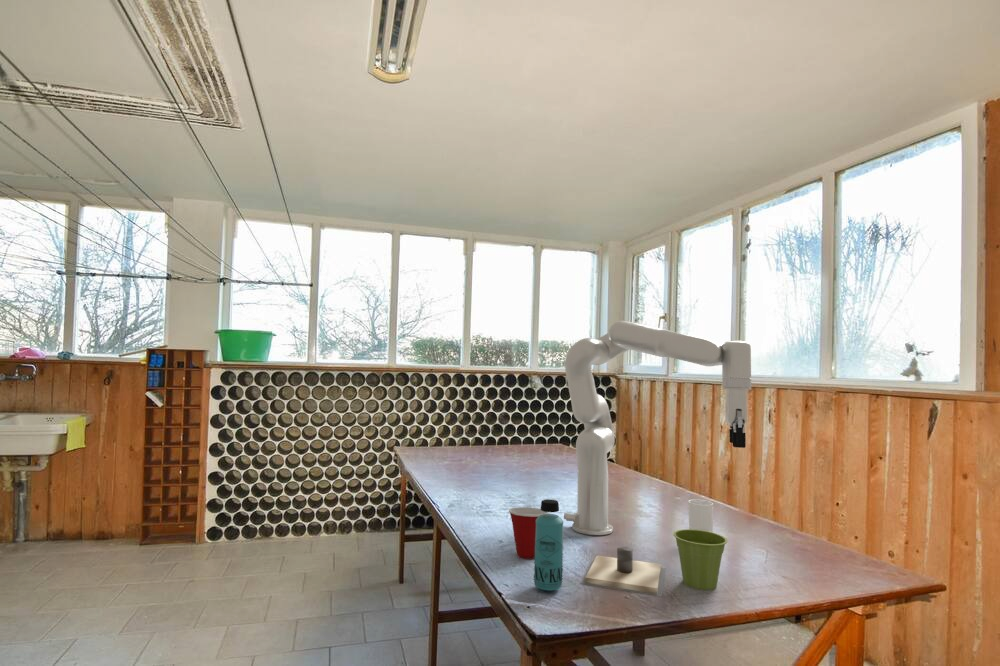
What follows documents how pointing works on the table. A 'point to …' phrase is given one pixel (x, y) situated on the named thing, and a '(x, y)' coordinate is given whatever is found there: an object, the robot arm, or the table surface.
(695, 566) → the plant pot
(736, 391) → the robot arm
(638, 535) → the table surface
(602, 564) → the lid
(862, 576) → the table surface
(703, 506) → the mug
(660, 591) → the mat
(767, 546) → the table surface
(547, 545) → the beverage bottle
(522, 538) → the plastic cup
